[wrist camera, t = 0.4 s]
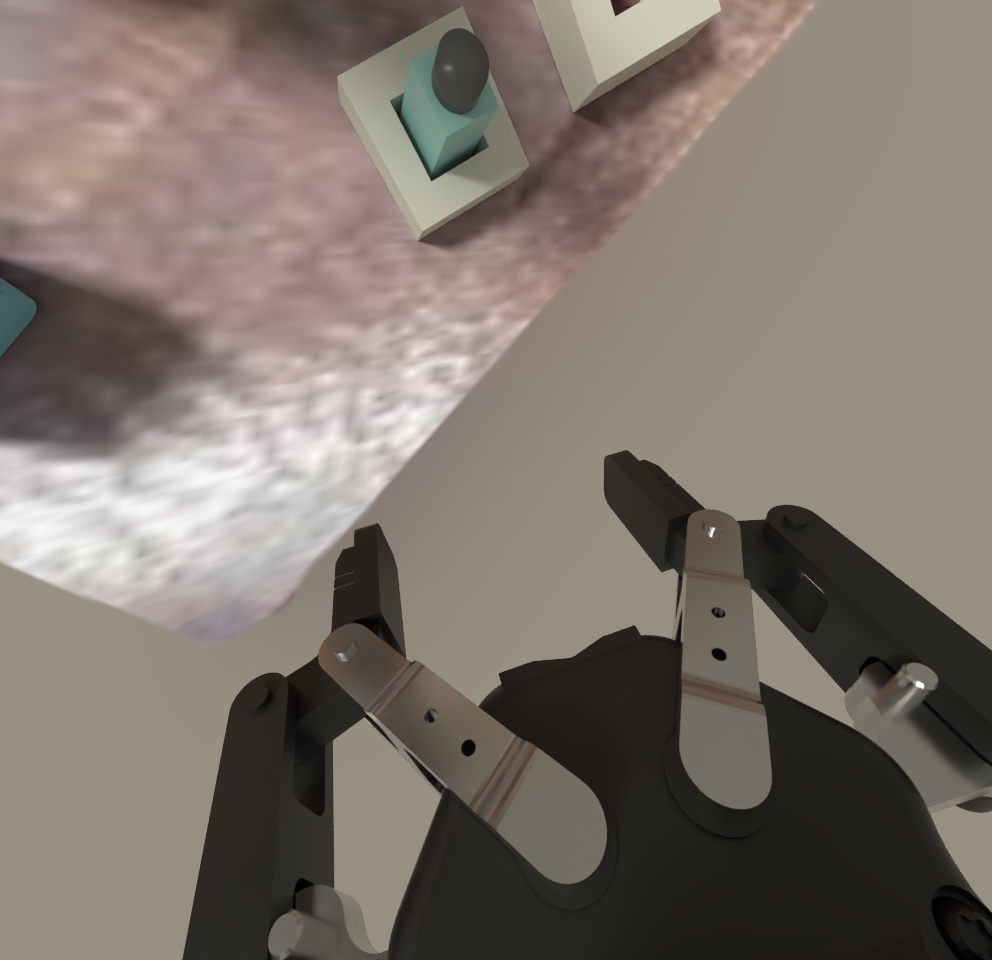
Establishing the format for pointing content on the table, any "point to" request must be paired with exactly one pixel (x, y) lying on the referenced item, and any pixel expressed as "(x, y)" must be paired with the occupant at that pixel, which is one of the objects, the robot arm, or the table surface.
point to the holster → (374, 115)
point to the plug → (448, 101)
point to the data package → (13, 314)
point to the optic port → (615, 39)
